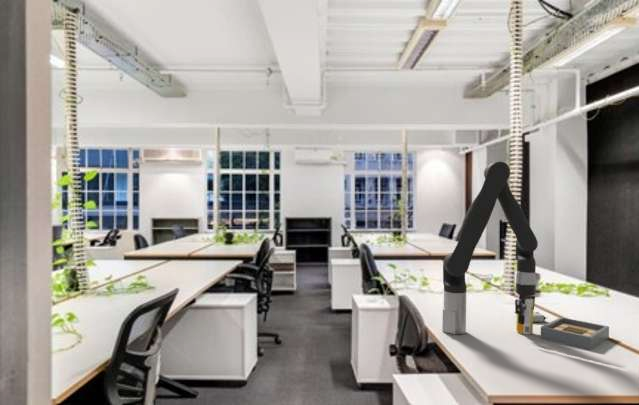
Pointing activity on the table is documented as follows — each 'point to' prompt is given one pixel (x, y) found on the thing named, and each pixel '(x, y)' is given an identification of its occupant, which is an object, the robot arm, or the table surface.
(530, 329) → the beer can
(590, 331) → the plate
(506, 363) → the table surface
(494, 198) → the robot arm
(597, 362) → the table surface
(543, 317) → the robot toy
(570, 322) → the open-top box
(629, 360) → the table surface
